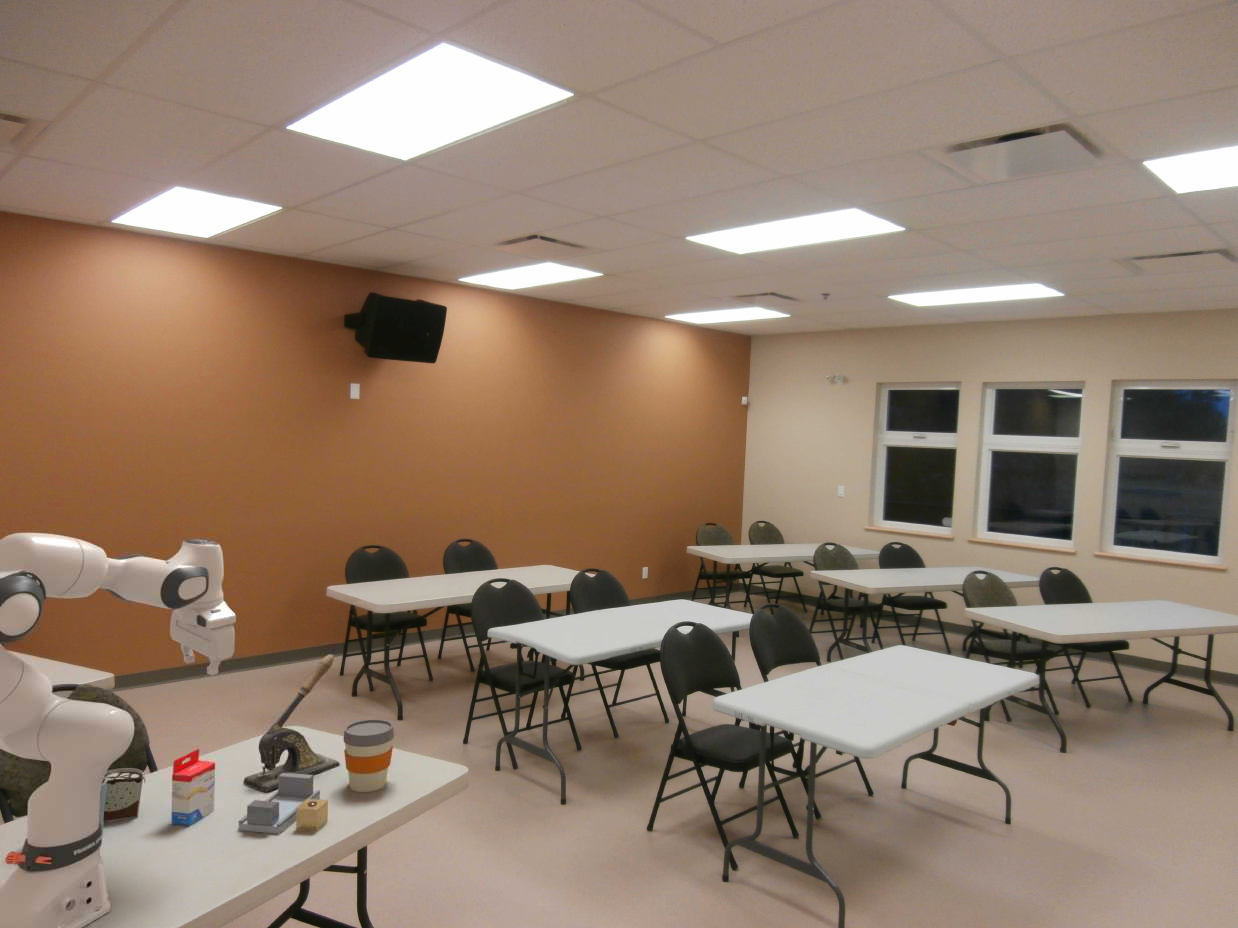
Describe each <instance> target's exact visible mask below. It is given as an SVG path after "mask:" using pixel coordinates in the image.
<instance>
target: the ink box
mask: <svg viewBox="0 0 1238 928" xmlns="http://www.w3.org/2000/svg"><path fill="white" fill-rule="evenodd" d="M199 756H200V749H199V748H197V749H195V750H193V751H190V752H189V753H187V754H184V755H182V756H181V757H179V758H176V759H175V760H174V761H173V763H172V773H171V825H179V826H188V827H190V826H191V825H193V824H194V823H197V822H198V821H199V820H201V819H203V818H205V817H206V816H208V815H210V814H211V813H213V812H214V811H215V789H216V788H215V786H216V784H215V783H216V761H215V762H214V761H209V760H199V759H200V757H199ZM186 759H189V760H187V761H186ZM184 761H185V762H184Z"/></svg>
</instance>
